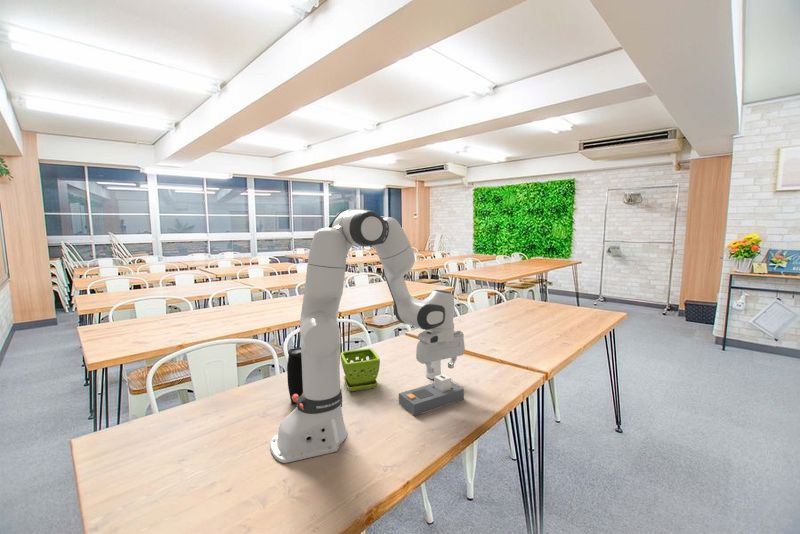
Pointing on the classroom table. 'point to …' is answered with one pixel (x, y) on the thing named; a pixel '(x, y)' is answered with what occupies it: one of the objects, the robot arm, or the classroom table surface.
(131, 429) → the classroom table surface
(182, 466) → the classroom table surface
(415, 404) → the power strip
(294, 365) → the portable speaker
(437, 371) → the water bottle
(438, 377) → the block
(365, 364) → the flower pot
